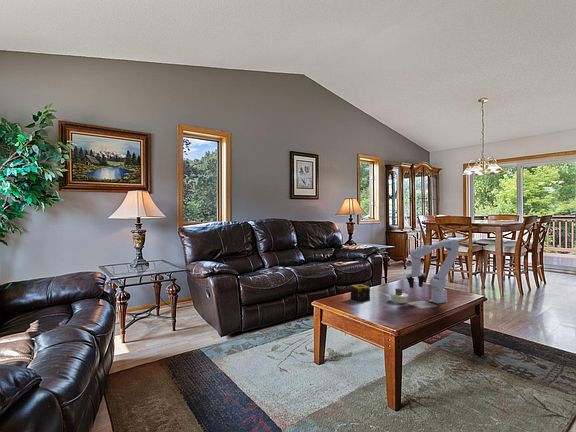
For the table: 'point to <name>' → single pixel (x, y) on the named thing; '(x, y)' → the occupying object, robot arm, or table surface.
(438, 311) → the table surface
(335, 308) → the table surface
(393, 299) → the bowl
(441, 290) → the robot arm
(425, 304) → the mat
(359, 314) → the table surface
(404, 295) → the lid
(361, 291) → the candle
